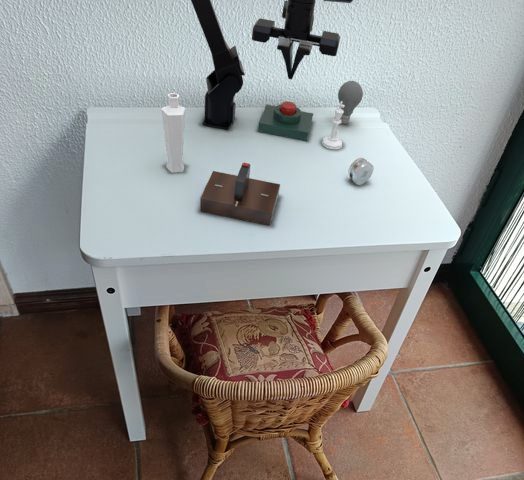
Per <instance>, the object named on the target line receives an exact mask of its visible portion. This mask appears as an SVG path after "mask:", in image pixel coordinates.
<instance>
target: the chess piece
mask: <svg viewBox="0 0 524 480" xmlns="http://www.w3.org/2000/svg"><path fill="white" fill-rule="evenodd" d="M344 106H345V105H342V101H341V102H340V103H337V104H336V107H338V108H336V109H335V110H334V114H335V115H334V116H335V118H333V119H332V123H333V127H332V129H331V132H330V135H326V136H324V137H323V138H322V140H321V145H322V146H323V147H324V148H327V149H329V150H339V149H342V147H343V141H342V140H341V139H340V138H339V137H338V133H339V131H338V130H339V125H341V124H343V123H342V121H341V120H340V118H341V116H342V114H343V113H344V111H343V110H342V109H341V107H342V108H344Z"/></svg>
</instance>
